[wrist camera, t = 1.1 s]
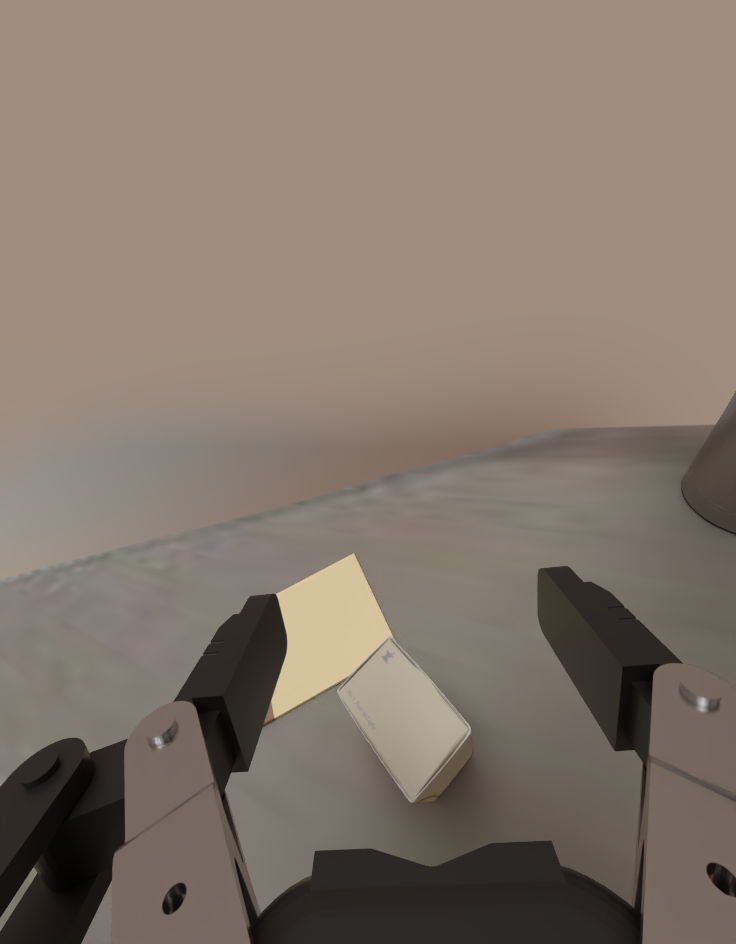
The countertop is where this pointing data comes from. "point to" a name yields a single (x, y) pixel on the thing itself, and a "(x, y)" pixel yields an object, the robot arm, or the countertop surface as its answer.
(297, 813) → the countertop surface
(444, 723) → the skincare box
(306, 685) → the notepad
